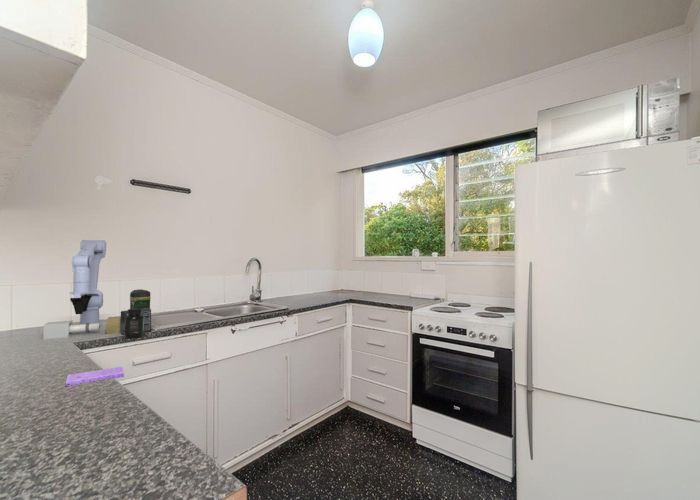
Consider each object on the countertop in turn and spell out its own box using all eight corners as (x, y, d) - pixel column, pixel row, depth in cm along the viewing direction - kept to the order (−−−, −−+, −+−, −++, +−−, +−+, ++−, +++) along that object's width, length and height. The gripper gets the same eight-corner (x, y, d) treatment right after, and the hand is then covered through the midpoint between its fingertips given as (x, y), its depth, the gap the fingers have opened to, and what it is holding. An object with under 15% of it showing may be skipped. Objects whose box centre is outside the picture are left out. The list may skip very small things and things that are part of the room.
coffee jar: (152, 327, 158) (152, 289, 159) (133, 329, 152) (134, 290, 153) (145, 324, 165) (146, 288, 165) (127, 327, 159) (127, 289, 159)
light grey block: (43, 339, 133) (43, 324, 134) (48, 336, 139) (48, 322, 139) (68, 337, 137) (68, 322, 138) (72, 334, 143) (72, 320, 143)
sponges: (68, 381, 89) (68, 374, 89) (123, 371, 96) (123, 365, 96) (65, 389, 83) (65, 382, 83) (124, 378, 91) (124, 372, 91)
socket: (105, 334, 143) (106, 319, 144) (108, 331, 150) (108, 317, 150) (119, 332, 146) (119, 318, 146) (121, 329, 152) (121, 316, 152)
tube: (44, 337, 134) (44, 327, 135) (47, 335, 138) (47, 325, 138) (98, 332, 143) (98, 322, 143) (100, 330, 147) (100, 321, 147)
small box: (145, 329, 152) (146, 307, 153) (151, 331, 148) (152, 308, 149) (119, 334, 144) (120, 310, 144) (125, 336, 140) (125, 311, 140)
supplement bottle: (147, 335, 141) (147, 307, 142) (135, 338, 135) (136, 310, 135) (132, 334, 142) (133, 307, 142) (120, 338, 135) (120, 310, 136)
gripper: (74, 281, 147) (73, 311, 147) (65, 283, 134) (64, 316, 134) (93, 281, 150) (93, 310, 150) (86, 282, 138) (86, 314, 137)
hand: (81, 312), depth 142 cm, fingers open, 7 cm apart
